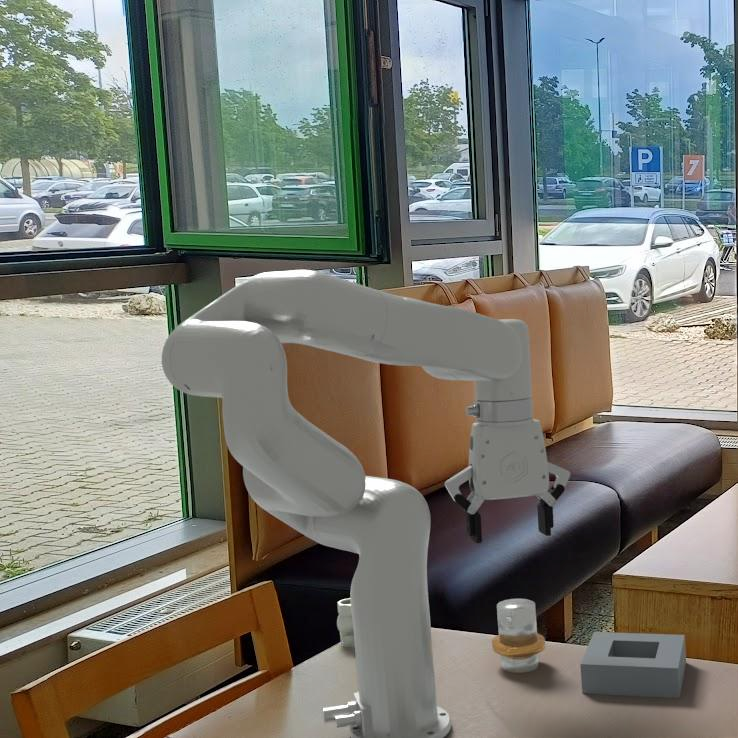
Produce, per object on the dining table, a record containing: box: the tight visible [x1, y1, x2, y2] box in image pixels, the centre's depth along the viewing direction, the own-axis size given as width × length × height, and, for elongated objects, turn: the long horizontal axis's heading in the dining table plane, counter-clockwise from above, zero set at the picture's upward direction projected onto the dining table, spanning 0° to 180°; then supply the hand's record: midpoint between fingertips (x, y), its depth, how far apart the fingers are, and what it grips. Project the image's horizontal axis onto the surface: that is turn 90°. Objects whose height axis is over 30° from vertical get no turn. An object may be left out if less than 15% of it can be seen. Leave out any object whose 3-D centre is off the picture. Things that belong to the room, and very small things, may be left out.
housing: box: [580, 631, 687, 699], centre depth 149 cm, size 12×12×5 cm
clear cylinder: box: [491, 598, 546, 674], centre depth 156 cm, size 7×7×10 cm
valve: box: [336, 597, 355, 648], centre depth 173 cm, size 7×7×12 cm
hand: (510, 537), depth 154 cm, fingers open, 9 cm apart
